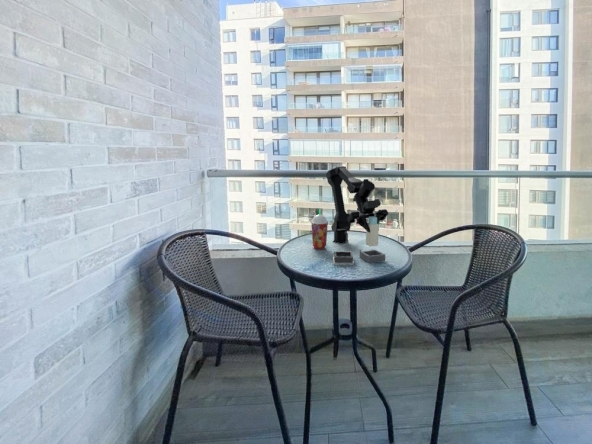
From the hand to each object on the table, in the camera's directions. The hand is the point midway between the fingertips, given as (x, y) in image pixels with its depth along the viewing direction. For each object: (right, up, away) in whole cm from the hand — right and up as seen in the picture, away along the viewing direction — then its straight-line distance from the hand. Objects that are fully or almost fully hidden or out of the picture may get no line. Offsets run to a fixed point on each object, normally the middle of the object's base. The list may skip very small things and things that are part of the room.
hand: (373, 231), depth 184 cm
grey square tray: (0, -13, +4) cm, 14 cm away
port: (-14, -14, +1) cm, 19 cm away
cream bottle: (0, -6, +3) cm, 7 cm away
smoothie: (-23, -9, +23) cm, 34 cm away
